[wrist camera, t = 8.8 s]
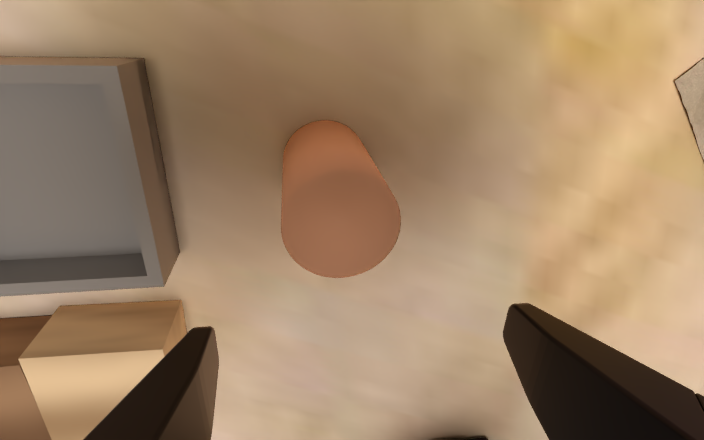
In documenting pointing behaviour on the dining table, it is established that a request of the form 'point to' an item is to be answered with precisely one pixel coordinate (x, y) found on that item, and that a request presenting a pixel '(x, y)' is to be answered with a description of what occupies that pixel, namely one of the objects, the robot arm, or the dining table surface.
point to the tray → (81, 178)
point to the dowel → (335, 202)
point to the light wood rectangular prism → (96, 359)
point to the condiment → (694, 100)
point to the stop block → (18, 381)
